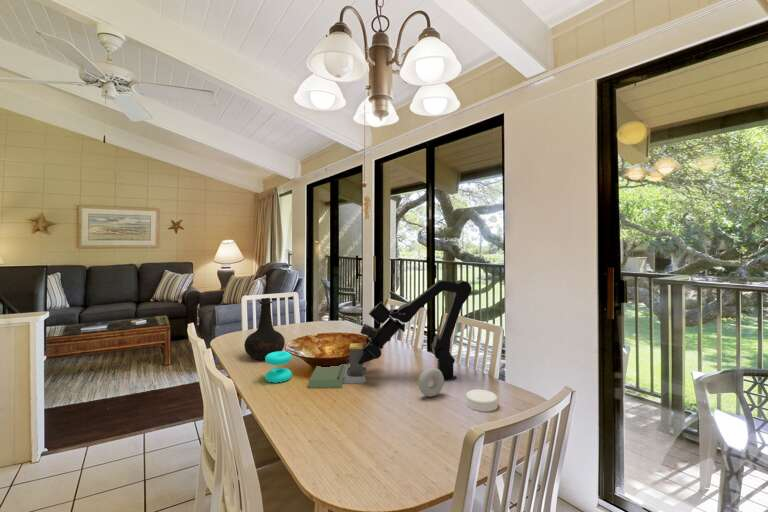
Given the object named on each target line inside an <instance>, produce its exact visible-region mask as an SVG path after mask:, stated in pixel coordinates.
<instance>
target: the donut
mask: <svg viewBox="0 0 768 512" xmlns="http://www.w3.org/2000/svg"><path fill="white" fill-rule="evenodd" d="M432 378H433V380H434V381H433V383H432V385H429V382H430V380H431V379H432ZM444 382H445V381H444V377H443V374H442V372H441V371H440V370H439V369H437V367H435V366H434V367H431V366H430V367H428V368H426V369H424V370H423V371H422V372H421V374H420V376H419V377H418V389H419V391H420V392H421V394H422V395H424V396H426V397H429V398H430V397H432V398H433V397H435V396H437V395H438V394H440V392H441V391H442V390H443V387H444V384H445V383H444Z"/></svg>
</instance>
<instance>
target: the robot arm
mask: <svg viewBox="0 0 768 512" xmlns="http://www.w3.org/2000/svg"><path fill="white" fill-rule="evenodd" d="M443 291H444V292H450V293H452V294H451V295H452V297H451V304H450V306H449V309H448V312H447V314H446V317H445V320H444V323H443V326H442V329H441V332H440V334H439V335H438V336H436V335H434V336H433V342H432V343H431V345H430V346H431V349H432V353H433V355H434V357H435V358H436V359H437V367H436V368H437V369H439V370H440V371H441V372H442V374H443V377H444V382H445V381H448V380H454V379H457V376H456V375H454V365H455V361H456V359H455V358H454V357H453V354H452V353H451V352H450V350H451V339H452V335H453V333H454V330H455V327H456V324H457V321H458V318H459V316H460V313H461V310H462V307H463V306H464V305H463V304H465V302H466V301H467V299H468V298H469V296H470V295H471V293H472V285H471V284H470V282H468V281H466V280H464V279H459V280H457V281H451V280H443V279H438V280H437V281H436V282H435V283H434V284H432V285H431V286H429V288H427V289H426V290H425V291H424V292H422V293H421V294H419V295H418V296H417V297H416V298H414V299H412V300H410V301H408V302H406V303H404V304H402V305H401V306H399V307H398V308H395V309H389V308H387V307H386V305H385V304H384V303H383V302H382V301H380V302H379V303H377V304H376V305H375V306H373V307H372V309H371V310H370V311H369V312H368V315H369V316H370V317H371V318H372V319H373V320H374V321H375V322H376V323H377V324H383V325H382V326H380V327H378V328H375V327H374V326H371V325H369V324H366V323H364V324H363V325H362V327H361V330H360V334H362V335H364V336H366V344H365V346H363V356H362V357H361V359H360V360H359V362H358V363H359V364H363V365H364V364H365V363H367V362H368V363H369V362H370V361H373V360H377V359H379V358H380V357H381V356H382V349H383V348H384V346H385V345H386V344H387V343H388V342H390V341H391V339H392V338H393V337H394V336H395V335H396V334H397V332H399V331H400V330H401V331H402V332H403V333H404V332H406V330H405V328H406V324H405V323H408V322H410V321H412V319H413V318H414V316H415V315H416V314H418V313H417V312H418V311H419V310H420V309H421V308H422V307H424V306H425V305H426V304H427V303H428V302H430V301H431V300H433V299H434V298H436V296H438V295H439V294H441V293H442V292H443Z"/></svg>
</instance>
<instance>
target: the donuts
mask: <svg viewBox="0 0 768 512" xmlns="http://www.w3.org/2000/svg"><path fill="white" fill-rule="evenodd" d="M292 358H293V357H292V354H291V353H290V352H288V351H284V350H282V351H277V352H272V353H269V354H267V355H266V357H265V360H264V361H265V363H267V364H268V365H271V366H282V365H286V364H288V363H289V362H290V361H291V360H292ZM264 375H265V376H264V378H265V380H266V381H267V382H268V383H271V382H273V384H279V383H278V382H280V383H284V382H286V381H288V380H290V379H291V378H292V375H293V372H292V371H291V370H290V369H288V368H286V367H277V368H276V367H275V368H273V369H270V370H268V371H267V372H266V374H264ZM283 381H284V382H283Z"/></svg>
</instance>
